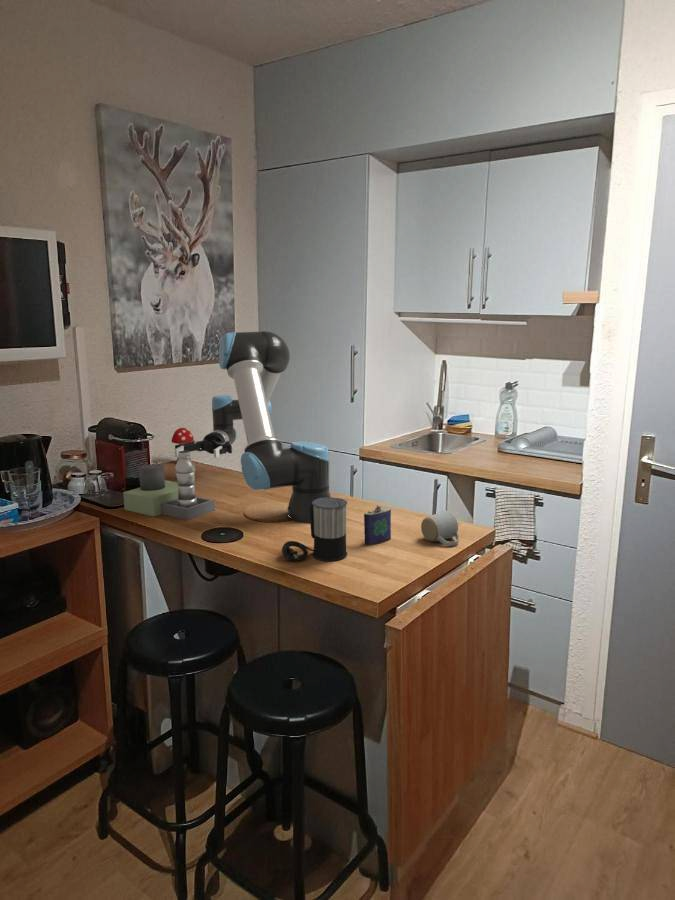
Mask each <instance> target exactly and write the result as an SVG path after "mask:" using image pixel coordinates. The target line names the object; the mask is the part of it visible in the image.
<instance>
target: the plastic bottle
mask: <svg viewBox="0 0 675 900" xmlns="http://www.w3.org/2000/svg"><path fill="white" fill-rule="evenodd" d="M190 453H191V452H189V451H179V452H178V458H179V461H178V462H177V461H176V464H175V465H174V466H175V467H174V471H175V472H174V473H175V476H176V477H175V478H176V482H177V484H178V501H177V506H180V507H184V508H189V507H192V506H195V505H198V503H197V499H196V496H197V495H196V488H195V478H196V477H195V476H196V475H195V474H196V466H195V464H194V463H193V461H192V459H191V460H190V457H191V454H190Z"/></svg>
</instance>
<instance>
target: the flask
mask: <svg viewBox="0 0 675 900" xmlns="http://www.w3.org/2000/svg"><path fill="white" fill-rule="evenodd" d="M363 522H364V523H363V524H364V525H363V526H364V529H363V530H364V546H374V545H376V546H377V545H379V544H382V543H385V542H388V541H390V540H391V538H392V527H391V525H392V509H391V508H389V507H384V508H383V507H382V505H380V504H376V508H374V510H373V509H371V510H368V511H367V512H366V511H365V512H364V514H363Z"/></svg>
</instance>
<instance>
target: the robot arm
mask: <svg viewBox="0 0 675 900" xmlns="http://www.w3.org/2000/svg"><path fill="white" fill-rule="evenodd" d="M290 356H291V355H290V350H289V347H288V345H287V342H285V340H284V339H283V338H282V337H281V336H280V335H278V334H276V333H275V332H272V331H268V330H267V331H265V330H263V331H242V332H241V331H239V332H237V331H232V332H226V333H223V334H222V336H221V337H220V341H219V347H218V363H219V365H218V366H219V367H220V369H222V370H226V372H227V375H228V377H229V378H231V379H233V381H234V386H235V391H236V395H237V399H233V396H232V395H230V394H229V395H228V394H224V395H223V394H219V395H215V396H212V400H211V412H212V429H213V430H212V431H211V432H210V433H208V434H206V435H205V436H204V437H203V439H202V440H197V441H196V440H193V441H191V442H188V443H184V444H175V445H174V458H177V457H178V452H179V451H189V452H190V453H191V452H196V451H197V452H206V453H208V454H212V455H213V457H214V459H216V458H219V457H220V456H222V455H226V454H227V453H228V454H233V448H232V446H233V444H234V443H235V442H236V440H237V438H238V437H237V436H238V434H237V430H236V428H234V421H239V420H242V422H243V427H244V428H243V429H244V433H245V436H246V441H247V444H246V446H245V448H244V449H243V450H244V451H243V453H242V454H241V457H240V465H241V472H242V475H243V478H244V481H245V483H246V484H247V487H249V488H250V489H252V490H255V491H259V490H261V491H262V490H263V491H267V490H270V489H278V488H284V487H287V488H288V487H291V488H292V489H291V496H290V499H289V502H288V504H287V511H286V513H287V514H288V515H289V516H290V517H291V519H290V520H292V521H295V522H302V523H310V506H311V504H312V502H313V501H314V500H316V499H320V498H326V497H332V495H331V491H330V461H331V460H330V456H329V449H328V448H327V446H326V445H324V444H321V443H316V442H311V441H294V442H291V444H290V448H289V447H288V448H283V444H282V441H281V440H280V439H278V438H277V437H276V436H275V431H274V427H273V423H272V419H271V415H272V403H271V400H270V399H271V397H272V395H273V393H274V390H275V389H276V385H277V383H278V381H279V379H280V377H281V375H282V373H284V372H285V371H286V370H287V368H288V366H289V363H290Z"/></svg>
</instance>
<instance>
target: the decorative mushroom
mask: <svg viewBox="0 0 675 900" xmlns="http://www.w3.org/2000/svg"><path fill="white" fill-rule="evenodd" d="M192 441H194V435H193V433H191V431H190V429H188V428H186V427H180V428H178V429H176V430H175V431H174V433H173V435H172V437H171V443H172V444H175V445H179V444H184V443H188V442H192ZM190 460H191V461H192V457H191V456H190ZM178 461H179V458H178V457H176V463H177V462H178Z"/></svg>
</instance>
